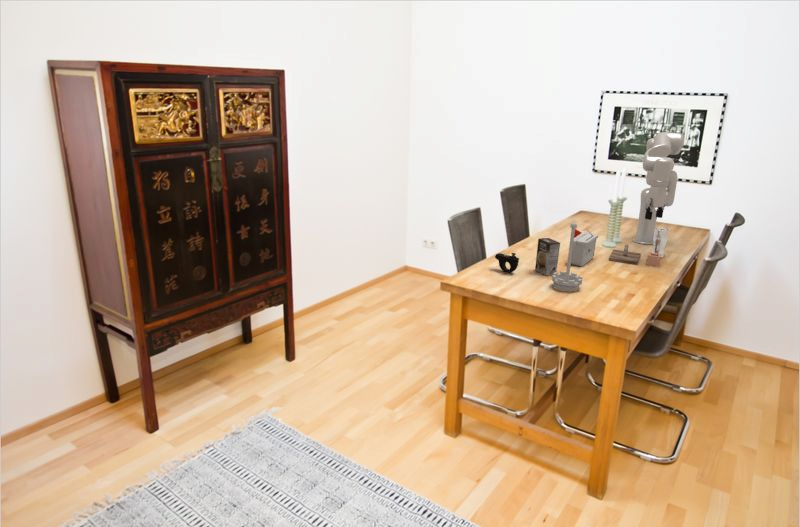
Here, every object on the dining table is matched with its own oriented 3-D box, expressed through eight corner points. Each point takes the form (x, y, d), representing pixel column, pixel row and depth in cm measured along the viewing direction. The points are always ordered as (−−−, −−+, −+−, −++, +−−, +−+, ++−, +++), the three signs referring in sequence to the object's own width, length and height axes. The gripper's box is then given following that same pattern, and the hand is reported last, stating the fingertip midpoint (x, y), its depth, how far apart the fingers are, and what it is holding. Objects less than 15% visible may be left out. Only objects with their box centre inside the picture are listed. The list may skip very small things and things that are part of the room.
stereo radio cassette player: (580, 255, 296) (585, 218, 290) (595, 258, 292) (600, 221, 286) (566, 264, 280) (571, 226, 274) (583, 268, 276) (588, 229, 269)
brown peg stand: (613, 251, 304) (615, 238, 301) (640, 256, 298) (642, 242, 295) (608, 260, 288) (610, 246, 286) (637, 264, 282) (639, 250, 280)
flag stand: (563, 294, 240) (572, 227, 231) (545, 284, 251) (552, 220, 242) (587, 290, 245) (596, 224, 236) (568, 281, 256) (576, 217, 247)
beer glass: (665, 258, 294) (670, 231, 290) (651, 257, 296) (656, 230, 291) (662, 254, 301) (667, 227, 296) (649, 253, 302) (653, 227, 298)
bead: (647, 261, 288) (648, 252, 287) (659, 263, 286) (661, 254, 284) (646, 264, 283) (647, 255, 282) (658, 266, 281) (660, 257, 279)
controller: (514, 275, 262) (516, 255, 258) (492, 269, 270) (494, 249, 267) (519, 273, 264) (521, 253, 261) (497, 267, 273) (499, 248, 270)
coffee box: (534, 270, 270) (537, 238, 265) (545, 268, 273) (548, 237, 268) (545, 276, 262) (549, 243, 257) (556, 274, 265) (560, 242, 260)
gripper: (661, 182, 280) (655, 215, 285) (642, 184, 270) (636, 218, 275) (675, 184, 275) (669, 218, 279) (656, 186, 265) (650, 221, 270)
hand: (653, 218), depth 277 cm, fingers open, 9 cm apart
